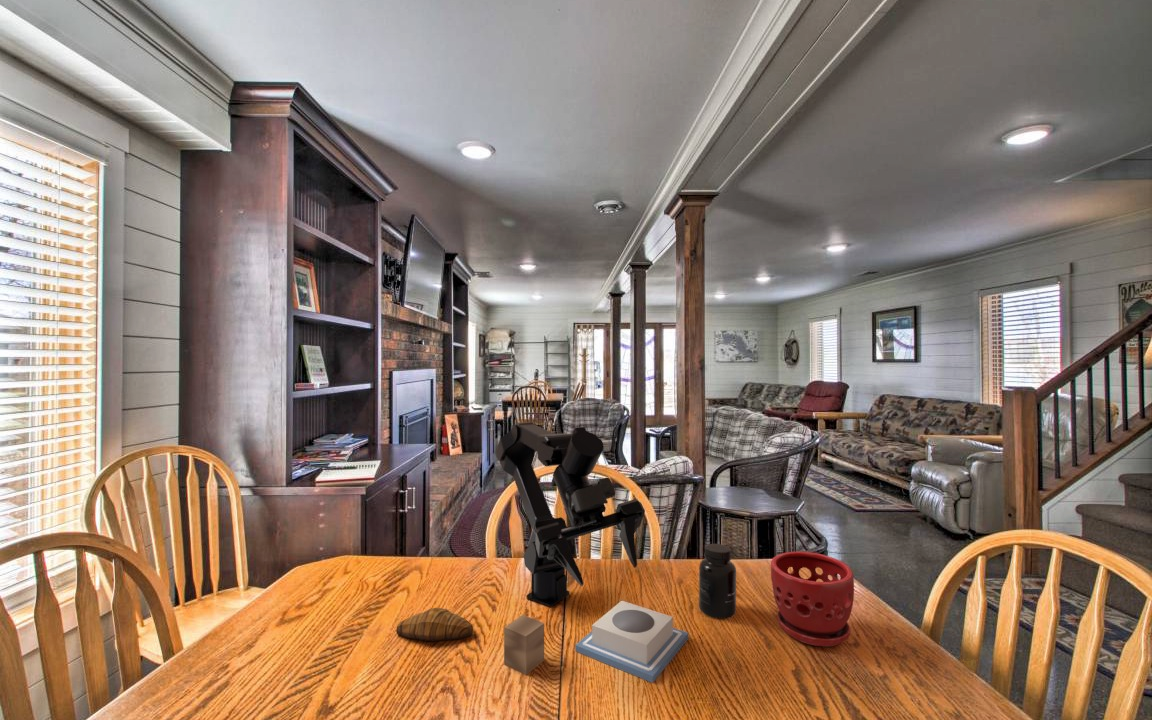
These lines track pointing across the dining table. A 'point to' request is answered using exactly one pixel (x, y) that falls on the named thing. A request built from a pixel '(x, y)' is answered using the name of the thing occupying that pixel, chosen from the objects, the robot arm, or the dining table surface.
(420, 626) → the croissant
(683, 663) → the dining table surface
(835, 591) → the plant pot
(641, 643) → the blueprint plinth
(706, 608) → the supplement bottle
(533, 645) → the walnut block
